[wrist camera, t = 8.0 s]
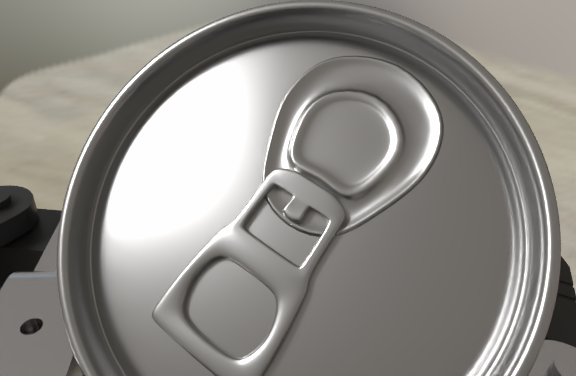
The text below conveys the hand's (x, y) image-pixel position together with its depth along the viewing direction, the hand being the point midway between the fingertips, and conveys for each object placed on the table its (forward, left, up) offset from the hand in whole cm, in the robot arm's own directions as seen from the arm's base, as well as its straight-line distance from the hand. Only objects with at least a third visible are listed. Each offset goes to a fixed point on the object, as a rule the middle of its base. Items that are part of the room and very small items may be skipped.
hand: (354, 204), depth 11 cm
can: (0, +2, -6) cm, 6 cm away
